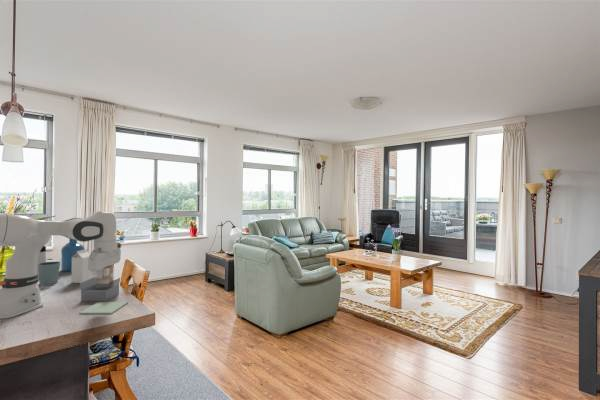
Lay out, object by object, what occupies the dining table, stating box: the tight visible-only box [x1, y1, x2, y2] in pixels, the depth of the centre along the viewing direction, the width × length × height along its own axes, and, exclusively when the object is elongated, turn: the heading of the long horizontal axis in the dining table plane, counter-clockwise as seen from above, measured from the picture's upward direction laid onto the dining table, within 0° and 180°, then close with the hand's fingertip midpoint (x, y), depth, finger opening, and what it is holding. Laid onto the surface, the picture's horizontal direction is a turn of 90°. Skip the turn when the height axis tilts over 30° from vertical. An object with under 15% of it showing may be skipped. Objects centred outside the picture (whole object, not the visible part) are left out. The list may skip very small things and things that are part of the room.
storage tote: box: [79, 276, 121, 302], centre depth 162 cm, size 12×13×9 cm
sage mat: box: [79, 301, 129, 315], centre depth 147 cm, size 14×14×1 cm
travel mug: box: [37, 245, 47, 280], centre depth 196 cm, size 6×7×20 cm
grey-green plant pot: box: [38, 261, 61, 287], centre depth 186 cm, size 10×10×12 cm
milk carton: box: [71, 249, 93, 284], centre depth 190 cm, size 7×7×19 cm
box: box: [95, 265, 115, 290], centre depth 147 cm, size 5×5×10 cm
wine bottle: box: [60, 238, 85, 273], centre depth 219 cm, size 14×13×30 cm
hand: (104, 276), depth 147 cm, fingers closed on box, 5 cm apart
